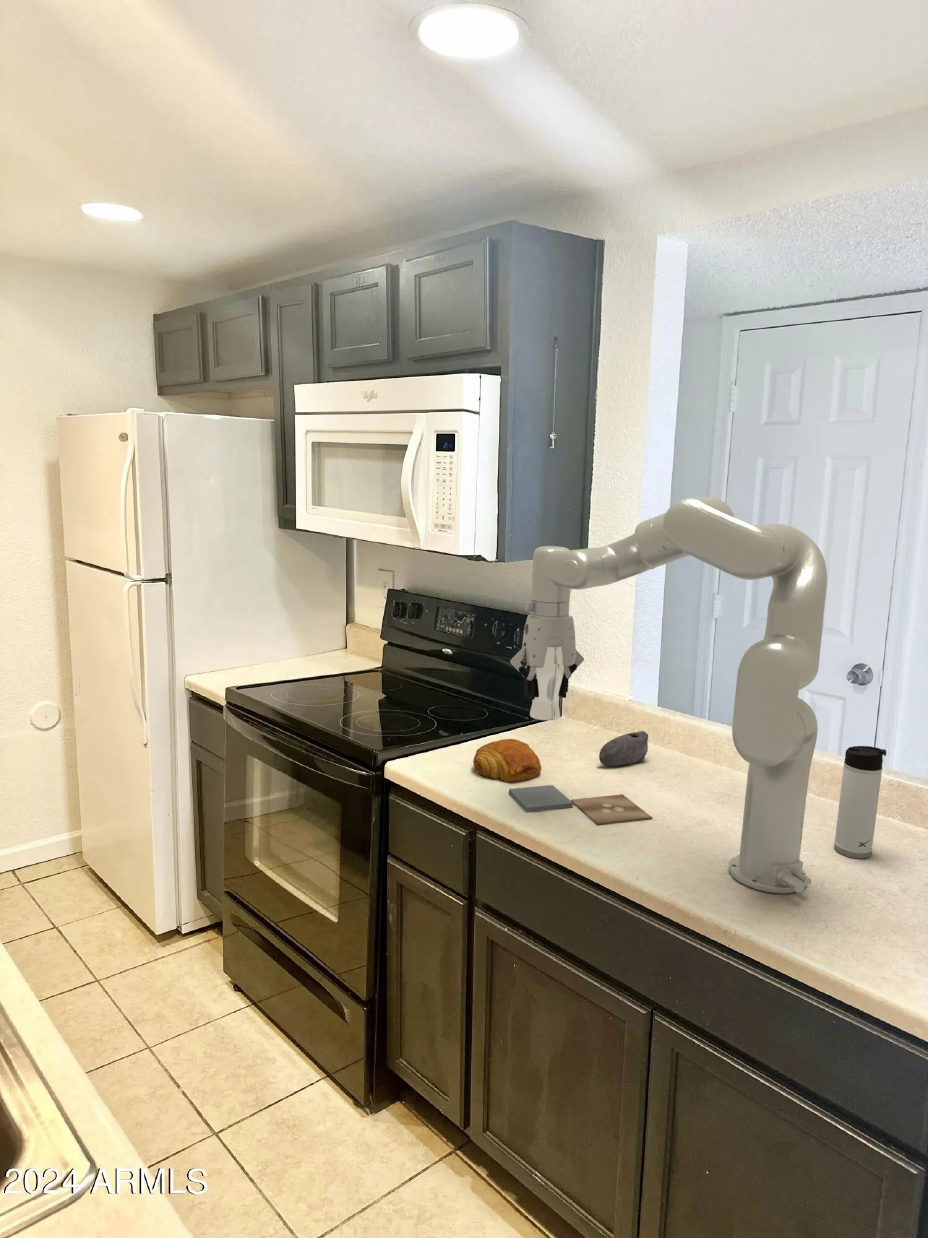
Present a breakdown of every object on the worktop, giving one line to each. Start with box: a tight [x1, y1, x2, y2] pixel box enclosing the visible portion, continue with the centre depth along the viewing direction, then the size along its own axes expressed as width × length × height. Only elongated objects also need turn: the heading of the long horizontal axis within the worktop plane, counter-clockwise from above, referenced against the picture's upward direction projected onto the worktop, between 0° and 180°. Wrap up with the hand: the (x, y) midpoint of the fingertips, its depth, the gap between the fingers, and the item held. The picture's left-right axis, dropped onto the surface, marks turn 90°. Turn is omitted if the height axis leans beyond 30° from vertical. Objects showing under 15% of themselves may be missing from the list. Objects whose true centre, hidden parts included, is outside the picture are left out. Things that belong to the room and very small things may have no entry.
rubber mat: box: [508, 784, 574, 813], centre depth 173 cm, size 10×10×1 cm
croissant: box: [472, 738, 542, 783], centre depth 188 cm, size 14×16×8 cm
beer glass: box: [529, 646, 565, 721], centre depth 168 cm, size 7×7×15 cm
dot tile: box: [570, 794, 653, 826], centre depth 169 cm, size 12×12×1 cm
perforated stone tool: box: [598, 730, 649, 767], centre depth 196 cm, size 15×5×7 cm, turn 122°
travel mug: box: [833, 745, 887, 860], centre depth 152 cm, size 6×7×20 cm
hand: (545, 696), depth 169 cm, fingers closed on beer glass, 6 cm apart
